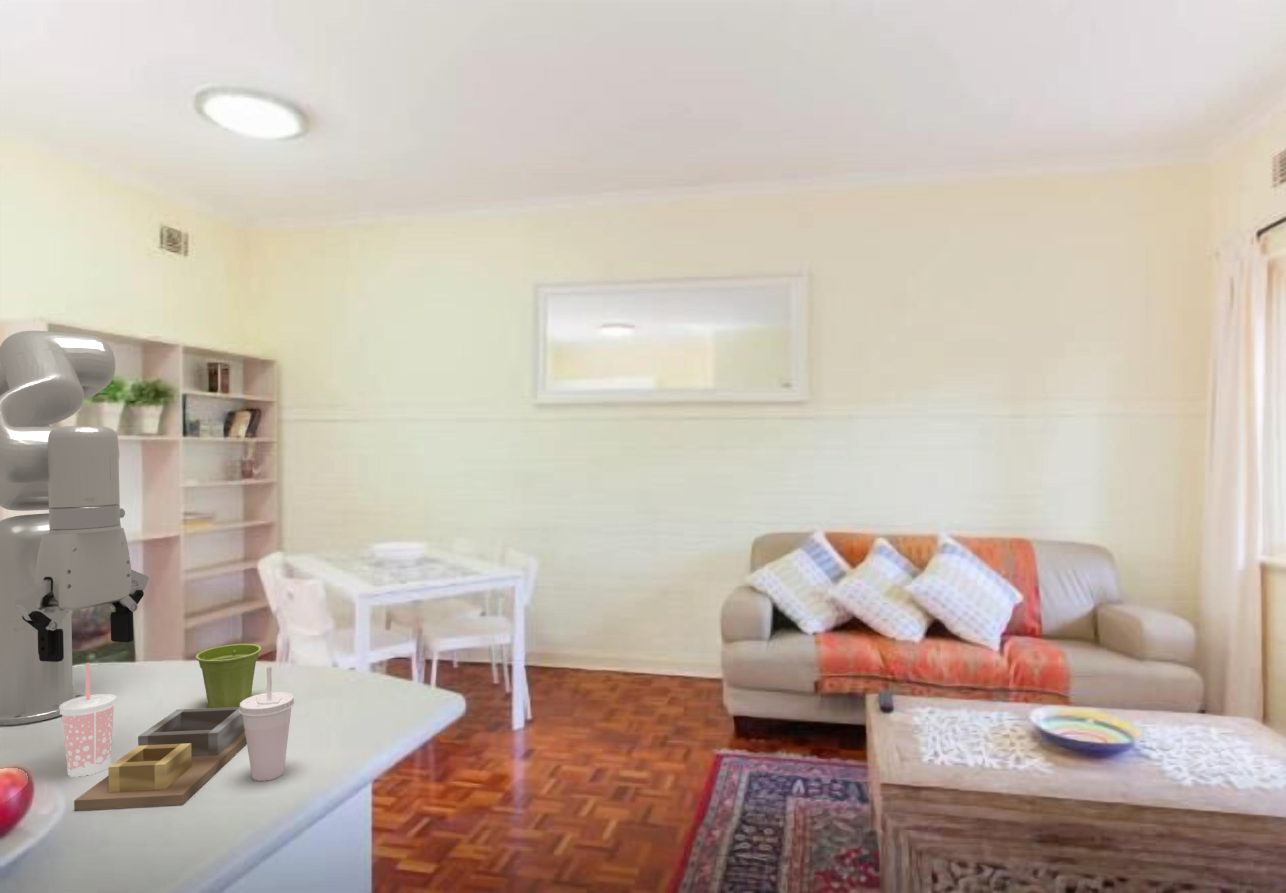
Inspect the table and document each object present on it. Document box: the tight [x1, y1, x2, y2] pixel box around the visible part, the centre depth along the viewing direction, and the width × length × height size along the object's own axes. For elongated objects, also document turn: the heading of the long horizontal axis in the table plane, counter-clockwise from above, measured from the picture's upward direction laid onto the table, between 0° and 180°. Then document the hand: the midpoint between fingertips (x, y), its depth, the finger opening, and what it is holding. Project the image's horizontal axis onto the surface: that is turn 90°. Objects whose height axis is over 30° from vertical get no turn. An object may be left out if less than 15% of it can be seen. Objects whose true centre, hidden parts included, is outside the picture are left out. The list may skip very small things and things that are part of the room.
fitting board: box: [73, 707, 247, 811], centre depth 100 cm, size 22×12×4 cm, turn 6°
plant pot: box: [195, 643, 262, 708], centre depth 125 cm, size 9×9×9 cm
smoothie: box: [239, 665, 295, 782], centre depth 98 cm, size 6×6×14 cm
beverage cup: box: [59, 662, 117, 777], centre depth 100 cm, size 6×6×14 cm
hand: (88, 650), depth 100 cm, fingers open, 9 cm apart
